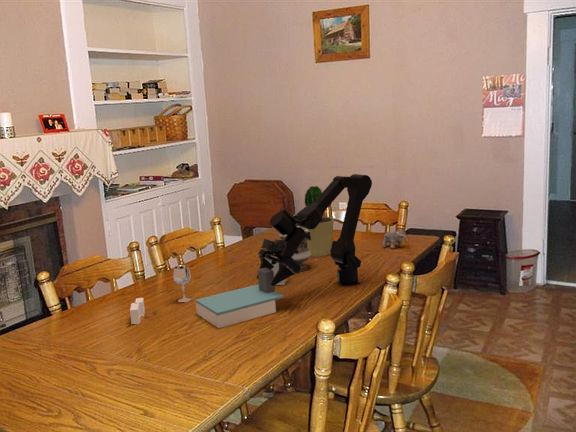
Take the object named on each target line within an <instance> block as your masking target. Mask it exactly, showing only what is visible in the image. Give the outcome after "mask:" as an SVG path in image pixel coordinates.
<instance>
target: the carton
mask: <svg viewBox="0 0 576 432" xmlns="http://www.w3.org/2000/svg"><path fill="white" fill-rule="evenodd" d="M276 307H277V306H276V302H275V300H273V301H269V302H265V303H262V304H258V305H254V306H250V307H247V308H243V309H239V310H235V311H232V312H228V313H224V314H220V315H216V314H215V313H213V312H211V311H210V310H208V309H207V308H205V307H203V306H202V305H200V304H198V303H197V302H196V301H195V308H196V314H197V315H198V316H199V317H201V318H202V319H204V320H205V321H207V322H208V323H210V324H212V325H213V326H214V327H216V328H218V329H221V328H225V327H228V326H232V325H235V324H238V323H242V322H246V321H249V320H250V321H251V320H253V319H256V318H260V317H264V316H267V315H271V314H274V313H277V309H276Z"/></svg>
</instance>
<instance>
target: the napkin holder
mask: <svg viewBox="0 0 576 432" xmlns="http://www.w3.org/2000/svg"><path fill="white" fill-rule="evenodd" d="M145 309H146V308H145V300H144V297H137V298H135V302H132V303H131V304H130V309H129V314H130V321H131V325H132V324H137V325H140V324H141V318H142V317H141V316H143V317H145V315H146V314H145V313H146V310H145ZM144 314H145V315H144ZM140 317H141V318H140ZM139 323H140V324H139Z"/></svg>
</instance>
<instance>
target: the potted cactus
mask: <svg viewBox="0 0 576 432" xmlns="http://www.w3.org/2000/svg"><path fill="white" fill-rule="evenodd" d="M324 190H325V189H324V188H323V189H322V188H321V187H320V186H319V185H313V186H312V185H309V187H308V188H307V189H306V190H305V193H304V198H303V203H304V206H305V207H306V206H308V205H310V204H312V203H313V202H314V201H315V200H316V199H317V198H318V197H319V196H320V194H321V193H322V192H323V191H324ZM324 215H325V212H324V213H323V216H322V219H321V221H320V223H319V224H318V226H317V227H316V228H315V229H307V230H308V231H309V232H310V236H311V240H307V248H308V249H309V250H310V252H311V256H310V257H318V258H319V257H326V256H329V255H331V252H330V250H331V248H332V242H333V233H334V222H335V221H334V220H335V218H334V217H331V216H324Z"/></svg>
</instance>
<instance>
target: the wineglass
mask: <svg viewBox="0 0 576 432" xmlns="http://www.w3.org/2000/svg"><path fill="white" fill-rule="evenodd" d="M191 277H192V275H191V271H190V268H189V266H188V265H186V264H181V265H176V266H174V268H173V281H174V283H175V284H177V285H179V286H181V290H182V294H183V295H182V296H183V297H182V298H179V299H178V300H177V302H178V303H180V302H185V303H188V302H191V301H192V299H191V298H190V297H186V295H185V286H186V285H188V284H189V283H190V281H191ZM190 300H191V301H190Z"/></svg>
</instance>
